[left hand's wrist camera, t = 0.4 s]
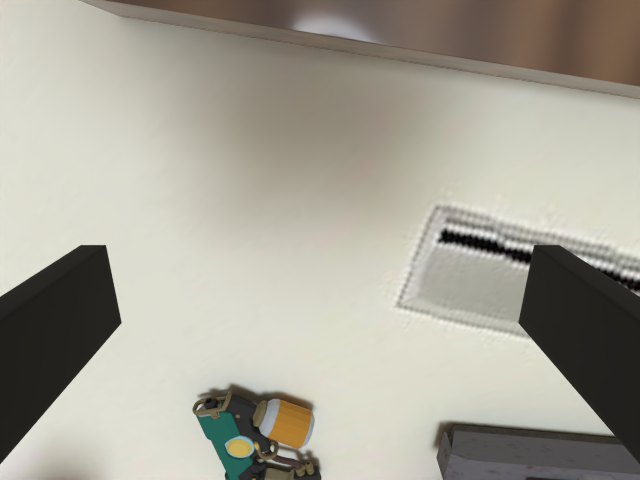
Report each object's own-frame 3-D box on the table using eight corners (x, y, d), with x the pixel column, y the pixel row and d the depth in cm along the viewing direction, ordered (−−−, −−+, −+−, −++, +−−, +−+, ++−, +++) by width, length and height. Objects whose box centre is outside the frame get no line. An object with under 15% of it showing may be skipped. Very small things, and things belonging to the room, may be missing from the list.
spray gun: (320, 484, 52) (207, 476, 53) (327, 388, 46) (198, 379, 46) (319, 518, 48) (197, 509, 49) (327, 418, 42) (185, 408, 42)
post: (118, 16, 33) (61, -7, 26) (116, -64, 31) (54, -113, 24) (729, 113, 36) (835, 117, 29) (761, 45, 34) (883, 31, 27)
